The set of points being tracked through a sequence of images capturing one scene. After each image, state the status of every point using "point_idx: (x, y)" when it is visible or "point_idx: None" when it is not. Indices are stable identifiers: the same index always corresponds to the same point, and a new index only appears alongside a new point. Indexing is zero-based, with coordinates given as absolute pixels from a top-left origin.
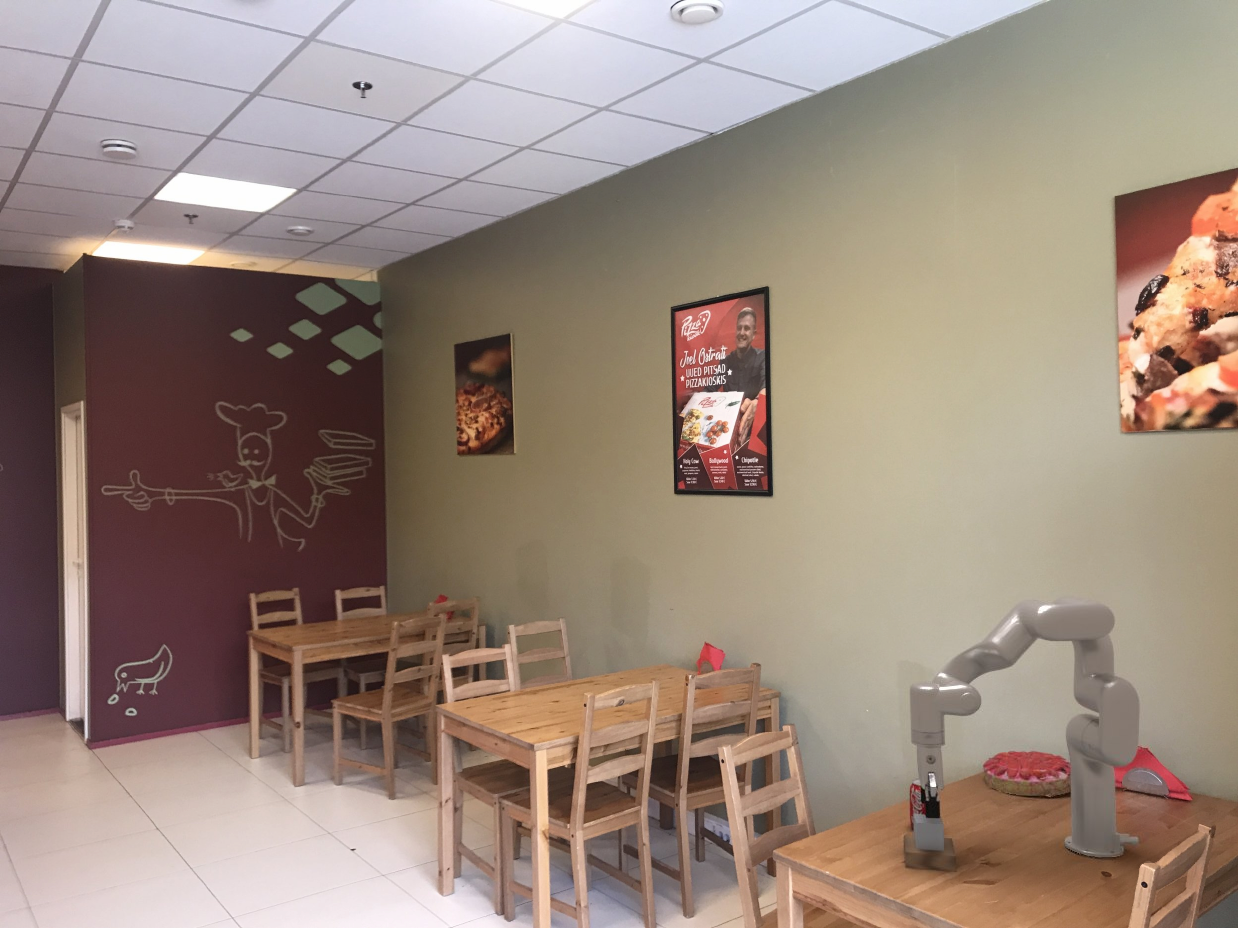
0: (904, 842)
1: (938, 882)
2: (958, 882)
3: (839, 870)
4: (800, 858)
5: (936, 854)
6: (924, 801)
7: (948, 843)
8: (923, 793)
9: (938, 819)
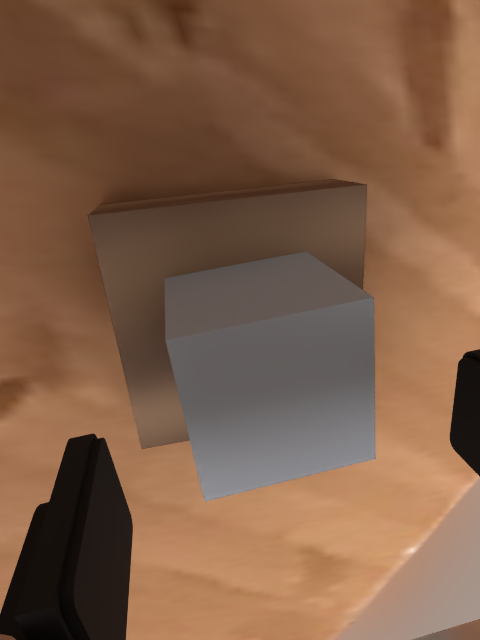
0: None
1: (452, 249)
2: (445, 169)
3: (396, 530)
4: (332, 620)
5: (362, 283)
6: (125, 516)
7: (184, 232)
8: (123, 600)
9: (269, 341)
